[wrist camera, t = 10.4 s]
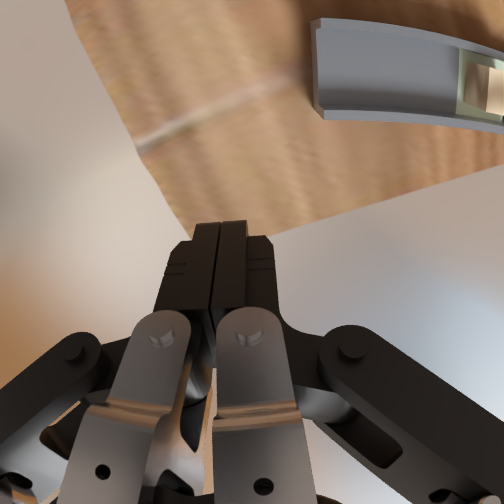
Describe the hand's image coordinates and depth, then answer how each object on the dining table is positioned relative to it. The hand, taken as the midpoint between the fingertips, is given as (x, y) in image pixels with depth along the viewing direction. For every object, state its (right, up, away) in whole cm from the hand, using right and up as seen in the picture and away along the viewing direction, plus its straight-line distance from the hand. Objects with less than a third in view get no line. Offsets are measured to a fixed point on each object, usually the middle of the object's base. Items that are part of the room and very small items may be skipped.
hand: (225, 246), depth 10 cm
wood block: (+27, +19, +16) cm, 37 cm away
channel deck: (+24, +20, +19) cm, 36 cm away
